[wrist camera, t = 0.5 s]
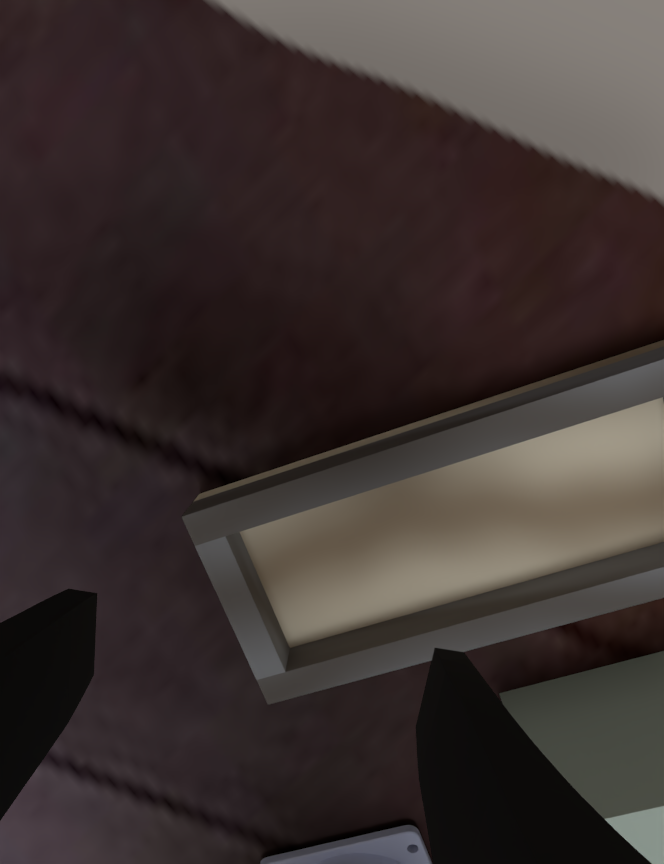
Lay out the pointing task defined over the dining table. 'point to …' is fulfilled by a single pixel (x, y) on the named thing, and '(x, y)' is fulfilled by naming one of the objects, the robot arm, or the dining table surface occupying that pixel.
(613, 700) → the grey-green rectangular block
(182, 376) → the dining table surface
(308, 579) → the grey shallow tray
